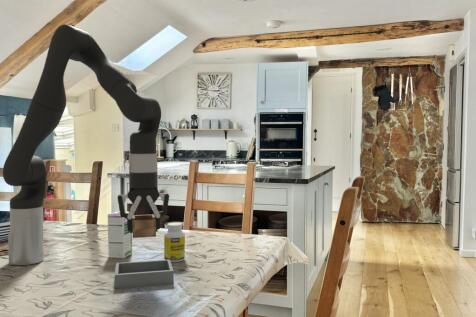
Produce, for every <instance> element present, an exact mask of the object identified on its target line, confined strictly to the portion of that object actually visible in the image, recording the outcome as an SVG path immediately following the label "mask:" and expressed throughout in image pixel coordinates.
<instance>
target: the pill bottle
mask: <svg viewBox="0 0 476 317" xmlns="http://www.w3.org/2000/svg"><path fill="white" fill-rule="evenodd" d="M166 226H167V227H166V228H167V231H166V232H164V236H163V245H164V248H163V252H164V254H163V256H164V257H163V258H164V259H163V260H169V259H170V261H171V263H179V262H182V261H184V260H185V258H186V257H185V255H186V254H185V253H186V252H185V249H186V248H185V247H186V246H185V244H186V234H185V232H184V230H182V229H183V223H182V222H169V223H167V224H166Z"/></svg>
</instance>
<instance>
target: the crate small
mask: <svg viewBox="0 0 476 317" xmlns="http://www.w3.org/2000/svg"><path fill="white" fill-rule="evenodd" d="M132 226H133V233H132V239H139V238H156V237H157V232H156V219H155V214H136V215H135V214H133V217H132Z"/></svg>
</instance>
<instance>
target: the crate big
mask: <svg viewBox="0 0 476 317" xmlns="http://www.w3.org/2000/svg"><path fill="white" fill-rule="evenodd" d="M162 285H163V286H164V285H174V268H173V265H172V262H171V261H170V259H169V260H165V259H158V260H157V259H156V260H155V259H154V260H143V261H141V260H140V261H138V260H137V261H127V262H125V261H124V262H123V261H122V262H116V263H115V269H114V289H124V288H125V289H127V288H137V287H149V286H150V287H151V286H162Z"/></svg>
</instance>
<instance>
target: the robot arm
mask: <svg viewBox="0 0 476 317" xmlns="http://www.w3.org/2000/svg"><path fill="white" fill-rule="evenodd" d="M70 60H71V61H75V62H80V63H81V64H83V65H85V66H86V67H88V68H89V69H91V70H92V71H93V73H94V74H95V77H96V79H97V82H98V83H99V85H100V87H101V88H102V89H103V91H105V92H106V93H107V95H109V97H111V98H112V99H113V100H114V101H115V103H116V105H117V107H118V109H119V111H120V112H121V114H122V115H123V116H124V117H125V118H126V119H128V120H129V121H130V122H133V123H139V125H138V129H137V131H134V132H132V133H131V134H130V135H129V160H128V180H129V181H128V182H129V183H128V184H129V185H128V186H129V188H128V192H127V193H125V194H121V193H120V194H119V193H118V195H117V203H118V210H119V211H120V216H121V217H124V218H126V219H127V229H128V231H130V233H132V234H133V226H132V217H133V215H135V212H136V210H137V209H143V208H146V209H150V208H151V210H152V212H153V215H154V216H155V219H156V233H157V232H159V230H160V229H161V218H162V217H163V216H167V215H168V207H169V201H170V194H169V193H168V192H165V193H164V192H159V190H158V189H159V188H158V185H159V183H158V169H159V168H158V158H157V137H158V133H159V129H160V125H161V120H162V109H161V105H160V103H159V101H158V100H157V99H155V98H154V97H147V96H141V95H139V94H137V92H138V89H137V85H136V84H135V83H134V82H133V81H132V79H131V78H130V79H129V77H127V75H126V74H124V73H123V71H121V70H120V69H119V68H118V67H117V66H116V65H115V64H114V63H113V62H112V60H111V59H110V58H109V57H108V55H107V54H106V53H105V52H104V51H103V49H102V47H100V45H99V44H98V42H97V41H96V39H95V38H94V37H93V36H92V35H91V34H90V33H89V32H87V31H86V30H82V29H81V28H77V27H76V26H72V25H70V24H67V23H66V24H65V23H64V24H61V25H58V27H57V28H56V29H55V30H54V32H53V34H52V37H51V39H50V43H49V47H48V50H47V55H46V58H45V61H44V62H45V63H44V66H43V69H42V72H41V75H40V78H39V81H38V84H37V87H36V89H35V92H34V94H33V96H32V98H31V101H30V104H29V107H28V109H27V112H26V115H25V117H24V121H23V123H22V126H21V128H20V131H19V132H18V135H17V137H16V139H15V142H14V143H13V145H12V147H11V149H10V151H9V153H8V155H7V156H6V159H5V161H4V164H3V166H2V178H3V180H4V182H5V183H6V184H7V185H9V186H12V187H21V188H20V190H19V192H18V193H17V194H16V195H14V196H13V197H11V198H10V199H9V224H10V225H9V229H10V230H9V231H10V232H9V233H8V234H7V242H8V252H7V253H8V265H10V266H12V265H13V266H29V265H35V264H38V263H41V262H43V261H44V260H45V258H44V257H45V256H44V255H45V254H44V252H45V251H44V199H45V196H46V192H47V191H46V189H47V188H46V186H47V169H46V168H47V167H46V164H45V162H44V160H43V158H41V157H40V156H38V155H35V153H36V151H37V149H38V148H39V146H40V145H41V144H42V143H43V142H44V141H45V140H46V139H47V138H48V137H49V136H50V134H52V133H53V132H54V131H55V129H56V128H57V127H58V126H59V124H60V122H61V120H62V118H63V115H64V112H65V110H66V106H67V94H66V90H65V89H66V87H65V82H64V77H65V72H66V68H67V66H68V63H69V61H70ZM159 197H160V199H161V200H160V201H162V208H161V211H159V210H158V208H157V206H156V204H155V203H156V202H157V200H158V199H159ZM127 199H129V200H130V202H131V203H132V205H131V207H130V209H129V213H126V212H125V211H126V210H125V203H126V201H127Z"/></svg>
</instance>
